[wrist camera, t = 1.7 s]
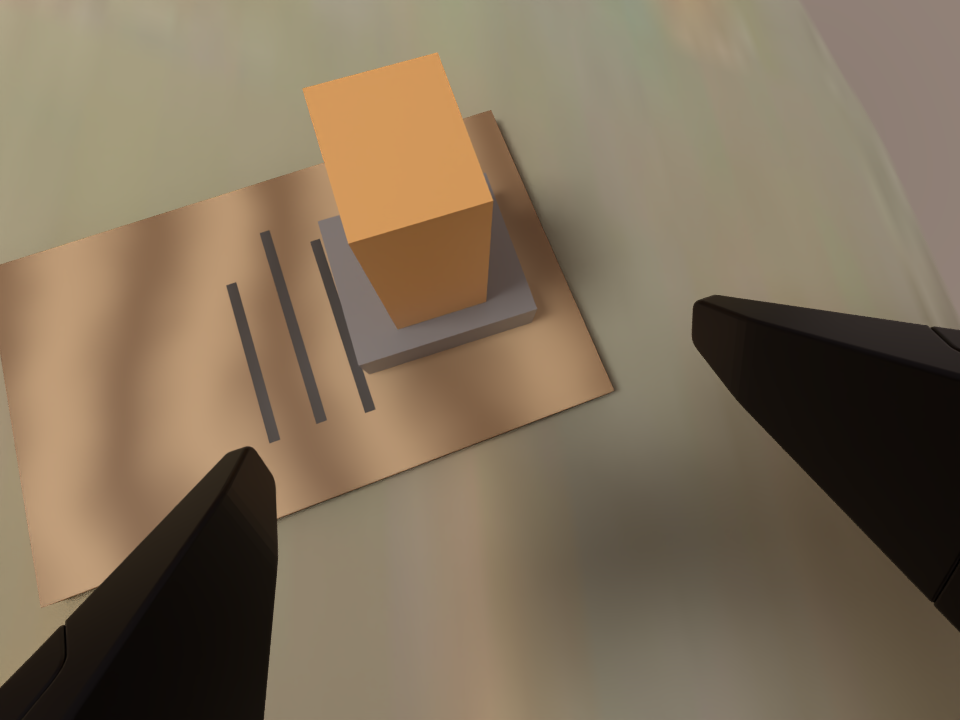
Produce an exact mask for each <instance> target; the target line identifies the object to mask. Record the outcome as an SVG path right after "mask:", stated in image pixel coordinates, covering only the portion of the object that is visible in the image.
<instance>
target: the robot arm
mask: <svg viewBox="0 0 960 720" xmlns="http://www.w3.org/2000/svg"><path fill="white" fill-rule="evenodd" d="M692 340H693V343H694V345H695V347H696V348H697V350H698V351H699V352H700V354H701V355H702V356H703V357H704V359H705V360H706V361H707V363H708V364H709V365H710V367H711V368H712V369H713V370H714V372H715V373H716V374H717V376H718V377H719V378H720V380H721V381H722V382H723V383H724V385H725V386H726V387H727V389H728V390H729V391H730V392H731V394H732V395H733V396H734V397H735V398H736V400H737V401H738V402H739V403H740V404H741V405H742V406H743V407H744V409H745V410H746V411H747V412H748V413H749V414H750V415H751V416H752V417H753V418H754V419H755V420H756V421H757V422H758V423H759V424H760V425H761V426H762V427H763V428H764V429H765V430H766V431H767V432H768V433H769V435H770V436H771V437H772V438H773V439H774V440H775V441H776V442H777V443H778V444H779V445H780V446H781V447H782V448H783V449H784V450H785V451H786V452H787V453H788V454H789V455H790V456H791V457H792V458H793V459H794V460H795V461H796V463H797V464H798V465H799V466H800V467H801V468H802V469H803V470H804V471H805V472H806V473H807V474H808V475H809V476H810V477H811V478H812V479H813V480H814V481H815V482H816V483H817V484H818V485H819V486H820V487H821V488H822V489H823V490H824V492H825V493H826V494H827V495H828V496H829V497H830V498H831V499H832V500H833V501H834V502H835V503H836V504H837V505H838V506H839V507H840V508H841V509H842V510H843V511H844V512H845V513H846V514H847V515H848V516H849V517H850V518H851V520H852V521H853V522H854V523H855V524H856V525H857V526H858V527H859V528H860V529H861V530H862V531H863V532H864V533H865V534H866V535H867V536H868V537H869V538H870V539H871V540H872V541H873V542H874V543H875V544H876V545H877V546H878V547H879V549H880V550H881V551H882V552H883V553H884V554H885V555H886V556H887V557H888V558H889V559H890V560H891V561H892V562H893V563H894V564H895V565H896V566H897V567H898V568H899V569H900V570H901V571H902V572H903V573H904V574H905V575H906V576H907V578H908V579H909V580H910V581H911V582H912V583H913V584H914V585H915V586H916V587H917V588H918V589H919V590H920V591H921V592H922V593H923V594H924V595H925V596H926V597H927V598H928V599H929V600H930V601H931V602H934V606H935V607H936V608H937V609H938V610H939V611H940V612H941V613H942V614H943V615H944V616H945V617H946V618H947V619H948V620H949V622H950V623H951V624H952V625H953V626H954V627H955V628H956V629H957V630H958V631H959V632H960V330H955V329H948V328H941V327H931V328H930V327H929V326H927V325H920V324H913V323H906V322H900V321H893V320H886V319H879V318H872V317H865V316H858V315H851V314H845V313H838V312H831V311H824V310H817V309H810V308H803V307H796V306H790V305H783V304H776V303H769V302H762V301H755V300H748V299H741V298H735V297H728V296H721V295H712V296H709V297H706V298H703V299H700V300H697V301H696V302H695V303H694V306H693V316H692ZM277 565H278V535H277V504H276V484H275V480H274V477H273V475H272V473H271V472H270V470H269V469H268V467H267V466H266V464H265V463H264V461H263V460H262V459H261V457H260V456H259V454H258V453H257V451H256V450H255V449H254V448H253V447H250V446H246V447H242V448H239V449H236V450H233V451H230V452H228V453H227V454H225V455H224V457H223V458H222V459H221V460H220V461H219V462H218V463H217V464H216V465H215V466H214V467H213V468H212V469H211V470H210V471H209V472H208V473H207V474H206V475H205V476H204V477H203V478H202V479H201V480H200V481H199V483H198V484H197V485H196V486H195V487H194V488H193V489H192V490H191V491H190V492H189V493H188V494H187V495H186V496H185V497H184V498H183V499H182V500H181V501H180V502H179V503H178V504H177V505H176V506H175V507H174V509H173V510H172V511H171V512H170V513H169V514H168V515H167V516H166V517H165V518H164V519H163V520H162V521H161V522H160V523H159V524H158V525H157V526H156V527H155V528H154V529H153V530H152V531H151V532H150V533H149V534H148V536H147V537H146V538H145V539H144V540H143V541H142V542H141V543H140V544H139V545H138V546H137V547H136V548H135V549H134V550H133V551H132V552H131V553H130V554H129V555H128V556H127V557H126V558H125V559H124V560H123V562H122V563H121V564H120V565H119V566H118V567H117V568H116V569H115V570H114V571H113V572H112V573H111V574H110V575H109V576H108V577H107V578H106V579H105V580H104V581H103V582H102V583H101V584H100V585H99V586H98V588H97V589H96V590H95V591H94V592H93V593H92V594H91V595H90V596H89V597H88V598H87V599H86V600H85V601H84V602H83V603H82V604H81V605H80V606H79V607H78V608H77V609H76V610H75V611H74V612H73V614H72V615H71V616H70V617H69V618H68V619H67V620H66V621H65V625H62V626H60V627H59V628H58V629H57V630H56V631H55V632H54V633H53V634H52V635H51V636H50V637H49V638H48V639H47V640H46V641H45V643H44V644H43V645H42V646H41V647H40V648H39V649H38V650H37V651H36V652H35V653H34V654H33V655H32V656H31V657H30V658H29V659H28V660H27V661H26V662H25V663H24V664H23V665H22V666H21V667H20V668H19V669H18V670H17V671H16V672H15V673H14V674H13V675H12V676H11V677H10V678H9V679H8V680H7V681H6V682H5V683H4V684H3V685H2V686H1V687H0V720H264V711H265V700H266V689H267V678H268V667H269V656H270V645H271V634H272V622H273V611H274V600H275V589H276V578H277Z"/></svg>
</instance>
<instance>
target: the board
mask: <svg viewBox="0 0 960 720" xmlns="http://www.w3.org/2000/svg"><path fill="white" fill-rule="evenodd" d="M463 121H464V124H465V127H466V129H467V132H468V135H469V137H470V140H471V143H472V145H473V148H474V151H475V153H476V156H477V159H478V161H479V164H480V167H481V169H482V172H483V173H486V174H487V177H488V180H489V182H490V185H491V188H492V190H493V193H494V195H495V198H496V201H497V203H498V206H499V209H500V211H501V214H502V217H503V219H504V222H505V225H506V227H507V230H508V233H509V235H510V238H511V241H512V243H513V246H514V249H515V251H516V254H517V257H518V259H519V262H520V264H521V267H522V270H523V272H524V275H525V278H526V280H527V283H528V286H529V288H530V291H531V294H532V296H533V299H534V302H535V304H536V307H537V311H536V313H535V316H534V318H533V321H532V323H529V324H526V325H523V326H519V327H516V328H513V329H510V330H507V331H504V332H501V333H498V334H494V335H491V336H488V337H485V338H482V339H479V340H476V341H472V342H469V343H466V344H463V345H460V346H457V347H454V348H451V349H447V350H444V351H441V352H438V353H435V354H432V355H429V356H426V357H422V358H419V359H416V360H413V361H410V362H407V363H404V364H400V365H397V366H394V367H391V368H388V369H385V370H382V371H379V372H375V373H372V374H368V373H367V372H365V371H364V370H363V369H362V368H361V367H360V366H359V365H358V362H357V358H356V355H355V351H354V348H353V344H352V341H351V337H350V334H349V330H348V327H347V323H346V320H345V316H344V313H343V309H342V305H341V302H340V298H339V295H338V291H337V288H336V284H335V281H334V277H333V274H332V270H331V267H330V263H329V260H328V256H327V253H326V249H325V246H324V242H323V238H322V235H321V231H320V228H319V224H318V221H320V220H324V219H327V218H331V217H334V216H338V215H340V214H339V211H338V207H337V204H336V201H335V197H334V194H333V191H332V187H331V184H330V180H329V177H328V174H327V170H326V167H325V163H321V164H318V165H315V166H312V167H309V168H305V169H302V170H299V171H296V172H293V173H290V174H286V175H283V176H280V177H277V178H274V179H271V180H267V181H264V182H261V183H258V184H255V185H251V186H248V187H245V188H242V189H239V190H236V191H232V192H229V193H226V194H223V195H220V196H217V197H213V198H210V199H207V200H204V201H201V202H198V203H194V204H191V205H188V206H185V207H182V208H178V209H175V210H172V211H169V212H166V213H163V214H159V215H156V216H153V217H150V218H147V219H144V220H140V221H137V222H134V223H131V224H128V225H124V226H121V227H118V228H115V229H112V230H109V231H105V232H102V233H99V234H96V235H93V236H90V237H86V238H83V239H80V240H77V241H74V242H71V243H67V244H64V245H61V246H58V247H55V248H51V249H48V250H45V251H42V252H39V253H36V254H32V255H29V256H26V257H23V258H20V259H17V260H13V261H10V262H7V263H4V264H1V265H0V355H1V361H2V367H3V373H4V380H5V386H6V392H7V398H8V405H9V411H10V417H11V423H12V430H13V436H14V442H15V448H16V455H17V461H18V467H19V473H20V480H21V486H22V492H23V498H24V505H25V511H26V517H27V523H28V530H29V536H30V542H31V548H32V555H33V561H34V567H35V573H36V580H37V586H38V592H39V599H40V605H41V608H42V607H45V606H48V605H51V604H54V603H57V602H60V601H63V600H65V599H68V598H71V597H73V596H76V595H79V594H81V593H84V592H87V591H89V590H92V589H94V588H97V587H98V586H99V585H100V584H101V583H102V582H103V581H104V580H105V579H106V578H107V577H108V576H109V575H110V574H111V573H112V572H113V571H114V570H115V569H116V568H117V567H118V566H119V565H120V564H121V563H122V562H123V560H124V559H125V558H126V557H127V556H128V555H129V554H130V553H131V552H132V551H133V550H134V549H135V548H136V547H137V546H138V545H139V544H140V543H141V542H142V541H143V540H144V539H145V538H146V537H147V536H148V534H149V533H150V532H151V531H152V530H153V529H154V528H155V527H156V526H157V525H158V524H159V523H160V522H161V521H162V520H163V519H164V518H165V517H166V516H167V515H168V514H169V513H170V512H171V511H172V510H173V509H174V507H175V506H176V505H177V504H178V503H179V502H180V501H181V500H182V499H183V498H184V497H185V496H186V495H187V494H188V493H189V492H190V491H191V490H192V489H193V488H194V487H195V486H196V485H197V484H198V483H199V481H200V480H201V479H202V478H203V477H204V476H205V475H206V474H207V473H208V472H209V471H210V470H211V469H212V468H213V467H214V466H215V465H216V464H217V463H218V462H219V461H220V460H221V459H222V458H223V457H224V455H225V454H227V453H228V452H230V451H233V450H236V449H239V448H242V447H246V446H250V447H253V448H254V449H255V450H256V451H257V453H258V454H259V456H260V457H261V459H262V460H263V461H264V463H265V464H266V466H267V467H268V469H269V470H270V472H271V473H272V475H273V477H274V480H275V484H276V504H277V519H279V518H282V517H284V516H287V515H289V514H292V513H295V512H297V511H300V510H303V509H305V508H308V507H311V506H313V505H316V504H318V503H321V502H324V501H326V500H329V499H332V498H334V497H337V496H340V495H342V494H345V493H347V492H350V491H353V490H355V489H358V488H361V487H363V486H366V485H369V484H371V483H374V482H376V481H379V480H382V479H384V478H387V477H390V476H392V475H395V474H398V473H400V472H403V471H405V470H408V469H411V468H413V467H416V466H419V465H421V464H424V463H427V462H429V461H432V460H434V459H437V458H440V457H442V456H445V455H448V454H450V453H453V452H456V451H458V450H461V449H463V448H466V447H469V446H471V445H474V444H477V443H479V442H482V441H485V440H487V439H490V438H492V437H495V436H498V435H500V434H503V433H506V432H508V431H511V430H514V429H516V428H519V427H521V426H524V425H527V424H529V423H532V422H535V421H537V420H540V419H543V418H545V417H548V416H550V415H553V414H556V413H558V412H561V411H564V410H566V409H569V408H572V407H574V406H577V405H579V404H582V403H585V402H587V401H590V400H593V399H595V398H598V397H601V396H603V395H606V394H608V393H610V392H612V391H614V389H613V387H612V384H611V382H610V380H609V378H608V375H607V373H606V371H605V368H604V366H603V364H602V362H601V359H600V357H599V355H598V353H597V350H596V348H595V346H594V343H593V341H592V339H591V337H590V334H589V332H588V330H587V328H586V325H585V323H584V321H583V318H582V316H581V314H580V312H579V309H578V307H577V305H576V302H575V300H574V298H573V296H572V293H571V291H570V289H569V287H568V284H567V282H566V280H565V277H564V275H563V273H562V271H561V268H560V266H559V264H558V262H557V259H556V257H555V255H554V252H553V250H552V248H551V246H550V243H549V241H548V239H547V237H546V234H545V232H544V230H543V227H542V225H541V223H540V221H539V218H538V216H537V214H536V211H535V209H534V207H533V205H532V202H531V200H530V198H529V196H528V193H527V191H526V189H525V186H524V184H523V182H522V180H521V177H520V175H519V173H518V171H517V168H516V166H515V164H514V161H513V159H512V157H511V155H510V152H509V150H508V148H507V146H506V143H505V141H504V139H503V136H502V134H501V132H500V130H499V127H498V125H497V123H496V120H495V118H494V116H493V114H492V111H491V110H490V111H486V112H483V113H480V114H477V115H474V116H471V117H467V118H464V119H463Z"/></svg>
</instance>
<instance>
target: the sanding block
mask: <svg viewBox="0 0 960 720" xmlns="http://www.w3.org/2000/svg"><path fill="white" fill-rule="evenodd" d="M303 92H304V96H305V99H306V103H307V106H308V109H309V113H310V116H311V119H312V123H313V126H314V130H315V133H316V136H317V140H318V143H319V147H320V150H321V153H322V157H323V160H324V163H325V167H326V170H327V174H328V177H329V180H330V184H331V187H332V191H333V194H334V197H335V201H336V204H337V207H338V211H339V214H340V215H338V216H334V217H331V218H327V219H324V220H320V221H318V224H319V228H320V231H321V235H322V238H323V242H324V246H325V249H326V253H327V256H328V260H329V263H330V267H331V270H332V274H333V277H334V281H335V284H336V288H337V291H338V295H339V298H340V302H341V305H342V309H343V313H344V316H345V320H346V323H347V327H348V330H349V334H350V337H351V341H352V344H353V348H354V351H355V355H356V358H357V362H358V365H359V366H360V367H361V368H362V369H363V370H364V371H365V372H367V373H368V374H372V373H375V372H379V371H382V370H385V369H388V368H391V367H394V366H397V365H400V364H404V363H407V362H410V361H413V360H416V359H419V358H422V357H426V356H429V355H432V354H435V353H438V352H441V351H444V350H447V349H451V348H454V347H457V346H460V345H463V344H466V343H469V342H472V341H476V340H479V339H482V338H485V337H488V336H491V335H494V334H498V333H501V332H504V331H507V330H510V329H513V328H516V327H519V326H523V325H526V324H529V323H532V321H533V318H534V316H535V313H536V311H537V307H536V304H535V302H534V299H533V296H532V294H531V291H530V288H529V286H528V283H527V280H526V278H525V275H524V272H523V270H522V267H521V264H520V262H519V259H518V257H517V254H516V251H515V249H514V246H513V243H512V241H511V238H510V235H509V233H508V230H507V227H506V225H505V222H504V219H503V217H502V214H501V211H500V209H499V206H498V203H497V201H496V198H495V195H494V193H493V190H492V188H491V185H490V182H489V180H488V177H487V174H486V173H483V172H482V169H481V167H480V164H479V161H478V159H477V156H476V153H475V151H474V148H473V145H472V143H471V140H470V137H469V135H468V132H467V129H466V127H465V124H464V121H463V119H462V116H461V113H460V111H459V108H458V105H457V103H456V100H455V97H454V95H453V92H452V89H451V87H450V84H449V81H448V79H447V76H446V73H445V71H444V68H443V65H442V63H441V60H440V57H439V55H438V53H434V54H430V55H426V56H423V57H419V58H415V59H411V60H408V61H404V62H400V63H396V64H393V65H389V66H385V67H381V68H378V69H374V70H370V71H366V72H363V73H359V74H355V75H351V76H348V77H344V78H340V79H336V80H333V81H329V82H325V83H321V84H318V85H314V86H310V87H306V88H303Z"/></svg>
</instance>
